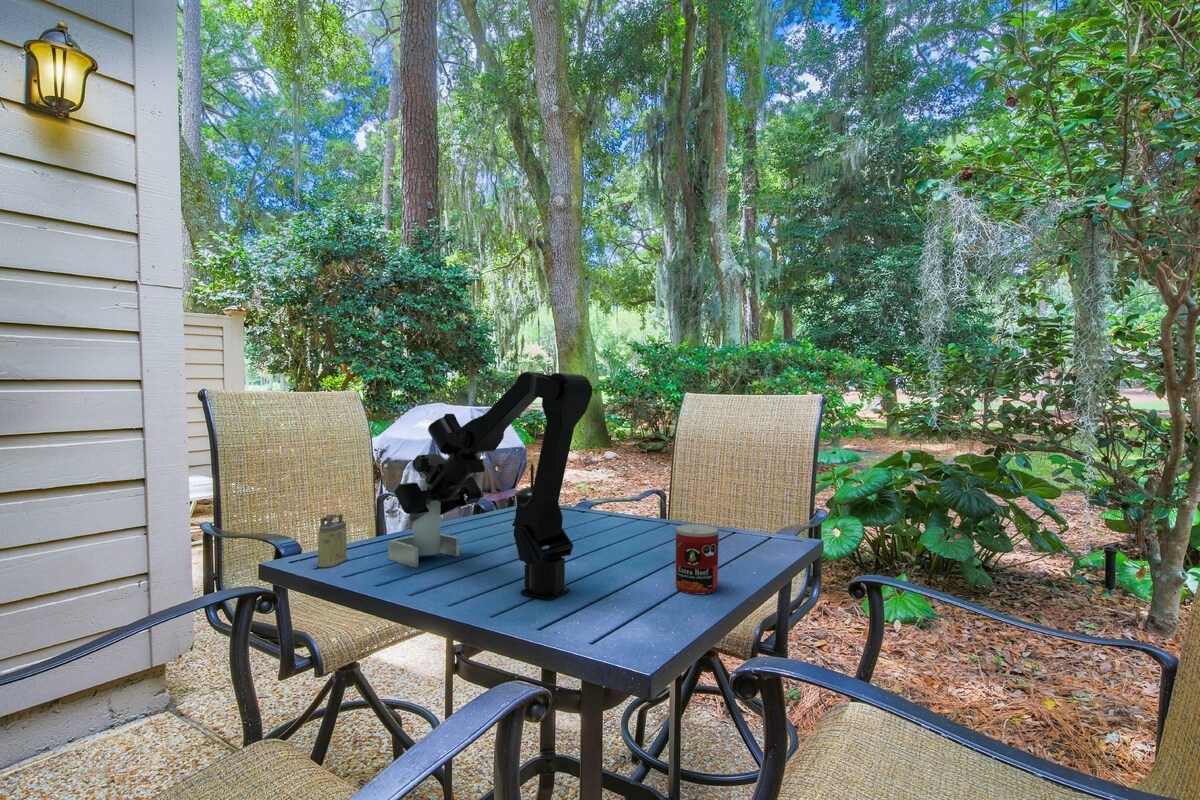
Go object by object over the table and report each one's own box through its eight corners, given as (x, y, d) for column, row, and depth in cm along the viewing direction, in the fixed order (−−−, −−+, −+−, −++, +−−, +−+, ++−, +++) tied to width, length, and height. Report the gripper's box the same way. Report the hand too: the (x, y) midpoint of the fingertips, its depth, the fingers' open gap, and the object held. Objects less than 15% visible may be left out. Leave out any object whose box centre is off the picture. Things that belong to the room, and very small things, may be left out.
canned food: (670, 591, 105) (671, 530, 105) (681, 579, 112) (681, 522, 113) (713, 597, 102) (713, 535, 102) (721, 584, 110) (721, 526, 110)
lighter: (335, 558, 124) (335, 511, 124) (351, 559, 124) (352, 512, 124) (313, 567, 117) (314, 518, 117) (330, 568, 117) (331, 518, 117)
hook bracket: (462, 555, 128) (463, 523, 128) (414, 567, 118) (414, 533, 118) (435, 548, 134) (435, 517, 134) (386, 559, 124) (387, 526, 124)
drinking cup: (551, 550, 133) (552, 462, 133) (544, 559, 126) (545, 466, 126) (518, 549, 134) (519, 462, 134) (510, 557, 126) (511, 465, 127)
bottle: (444, 552, 125) (445, 479, 125) (419, 556, 121) (420, 481, 121) (433, 547, 129) (433, 477, 129) (408, 551, 125) (409, 479, 125)
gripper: (473, 439, 130) (442, 484, 137) (399, 444, 115) (369, 494, 122) (497, 478, 125) (464, 522, 132) (423, 487, 111) (390, 537, 117)
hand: (423, 518), depth 126 cm, fingers closed on bottle, 6 cm apart
